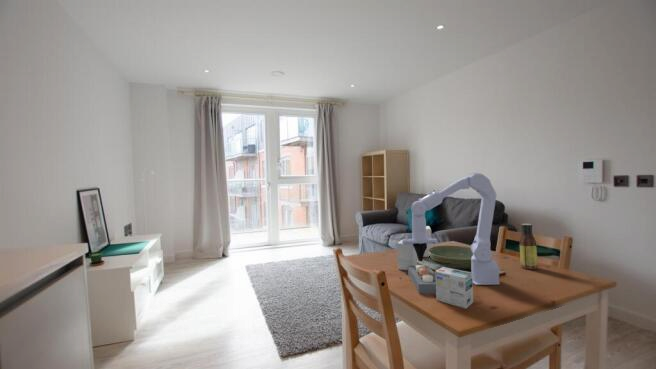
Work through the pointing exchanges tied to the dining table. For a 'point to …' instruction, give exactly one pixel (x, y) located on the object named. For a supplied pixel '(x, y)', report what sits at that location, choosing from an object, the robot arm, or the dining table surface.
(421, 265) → the plug sage
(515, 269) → the dining table surface
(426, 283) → the socket board
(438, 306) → the dining table surface
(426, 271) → the plug rust
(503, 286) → the dining table surface
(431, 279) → the plug cream
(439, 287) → the light bulb box
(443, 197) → the robot arm
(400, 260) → the supplement box
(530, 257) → the sauce bottle
